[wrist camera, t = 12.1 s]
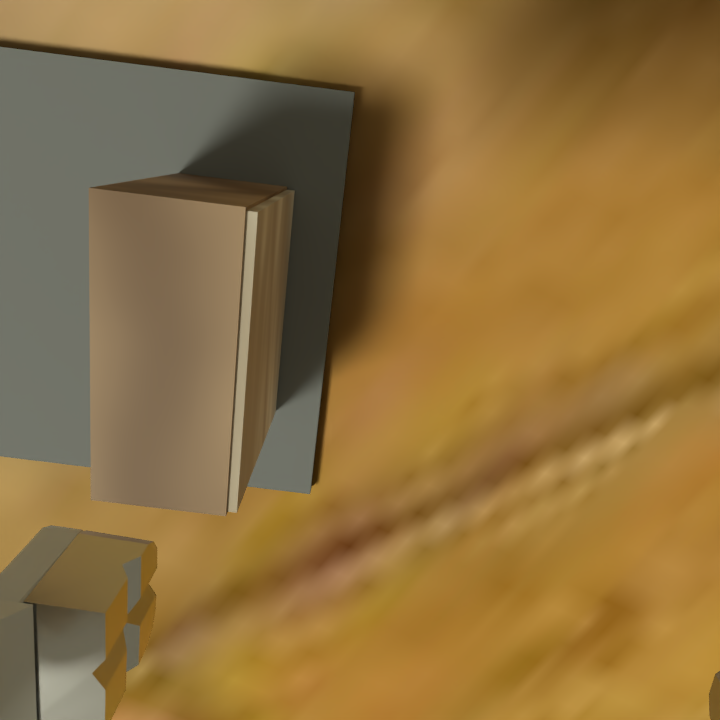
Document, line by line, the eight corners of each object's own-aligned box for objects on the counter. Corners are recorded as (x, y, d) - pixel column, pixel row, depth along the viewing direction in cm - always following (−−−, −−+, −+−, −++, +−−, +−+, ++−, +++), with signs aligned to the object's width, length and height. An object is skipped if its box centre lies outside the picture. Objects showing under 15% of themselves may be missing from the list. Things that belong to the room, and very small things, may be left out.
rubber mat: (354, 93, 24) (354, 92, 24) (311, 486, 29) (310, 494, 29) (-35, 43, 24) (-45, 41, 24) (-12, 447, 29) (-19, 453, 28)
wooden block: (295, 187, 25) (257, 208, 17) (275, 413, 28) (236, 517, 20) (178, 172, 25) (88, 187, 17) (171, 400, 27) (90, 500, 20)
